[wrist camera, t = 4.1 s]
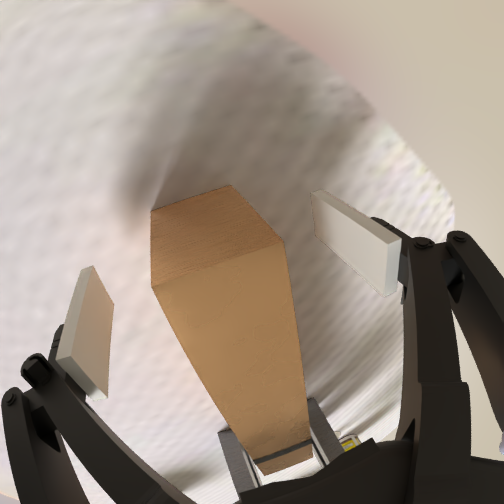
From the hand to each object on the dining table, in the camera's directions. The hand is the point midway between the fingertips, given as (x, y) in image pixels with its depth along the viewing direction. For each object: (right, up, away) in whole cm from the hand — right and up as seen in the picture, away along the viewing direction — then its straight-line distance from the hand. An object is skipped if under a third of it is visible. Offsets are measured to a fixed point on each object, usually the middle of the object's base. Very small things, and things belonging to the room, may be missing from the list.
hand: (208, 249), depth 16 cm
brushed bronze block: (+1, -7, +8) cm, 10 cm away
